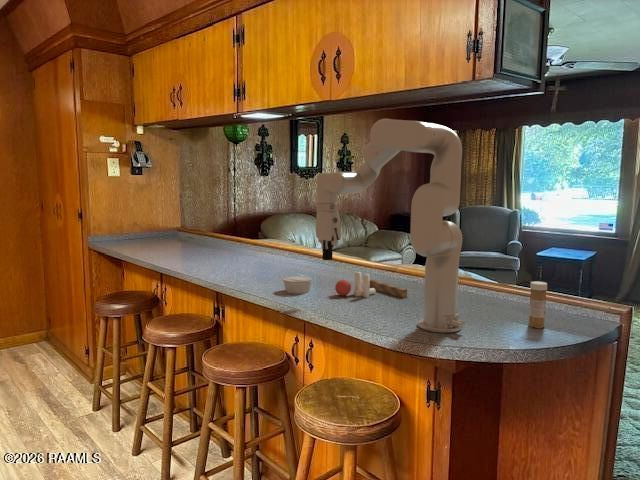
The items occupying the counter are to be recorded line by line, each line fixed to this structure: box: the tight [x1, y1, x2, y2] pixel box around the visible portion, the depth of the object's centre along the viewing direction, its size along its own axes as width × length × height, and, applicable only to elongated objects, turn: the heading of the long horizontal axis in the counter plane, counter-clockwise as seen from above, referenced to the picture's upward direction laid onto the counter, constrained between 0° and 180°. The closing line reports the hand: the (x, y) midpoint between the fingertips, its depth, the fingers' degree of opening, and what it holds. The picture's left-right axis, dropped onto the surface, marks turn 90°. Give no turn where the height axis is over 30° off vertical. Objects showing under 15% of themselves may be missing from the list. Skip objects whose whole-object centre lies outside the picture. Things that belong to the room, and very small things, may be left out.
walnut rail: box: [369, 278, 408, 299], centre depth 190 cm, size 22×2×3 cm, turn 32°
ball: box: [334, 279, 352, 297], centre depth 183 cm, size 6×6×6 cm
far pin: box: [354, 271, 362, 291], centre depth 185 cm, size 2×2×8 cm
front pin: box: [353, 288, 377, 298], centre depth 184 cm, size 2×2×8 cm
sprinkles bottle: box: [528, 280, 548, 329], centre depth 144 cm, size 5×5×13 cm
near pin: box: [362, 273, 371, 298], centre depth 181 cm, size 2×2×8 cm
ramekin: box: [283, 275, 313, 295], centre depth 190 cm, size 11×11×5 cm
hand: (327, 259), depth 173 cm, fingers closed
